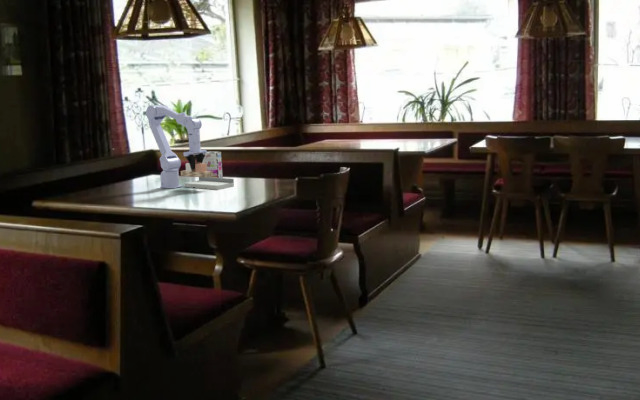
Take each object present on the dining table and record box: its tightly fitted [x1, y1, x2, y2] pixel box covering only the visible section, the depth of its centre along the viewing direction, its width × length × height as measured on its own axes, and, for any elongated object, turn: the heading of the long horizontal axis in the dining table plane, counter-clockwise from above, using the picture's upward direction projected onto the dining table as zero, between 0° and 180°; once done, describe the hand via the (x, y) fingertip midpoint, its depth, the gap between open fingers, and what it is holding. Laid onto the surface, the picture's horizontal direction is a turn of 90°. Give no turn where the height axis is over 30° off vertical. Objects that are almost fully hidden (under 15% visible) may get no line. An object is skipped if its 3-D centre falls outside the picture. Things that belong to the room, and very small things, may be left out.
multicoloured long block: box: [180, 161, 213, 178], centre depth 353 cm, size 18×5×7 cm, turn 55°
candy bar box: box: [202, 151, 224, 178], centre depth 381 cm, size 11×5×16 cm, turn 68°
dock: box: [184, 177, 235, 190], centre depth 362 cm, size 24×12×4 cm, turn 55°
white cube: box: [185, 162, 192, 172], centre depth 355 cm, size 4×4×4 cm
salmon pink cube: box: [195, 163, 207, 172], centre depth 351 cm, size 4×4×4 cm
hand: (196, 168), depth 353 cm, fingers closed on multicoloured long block, 4 cm apart
